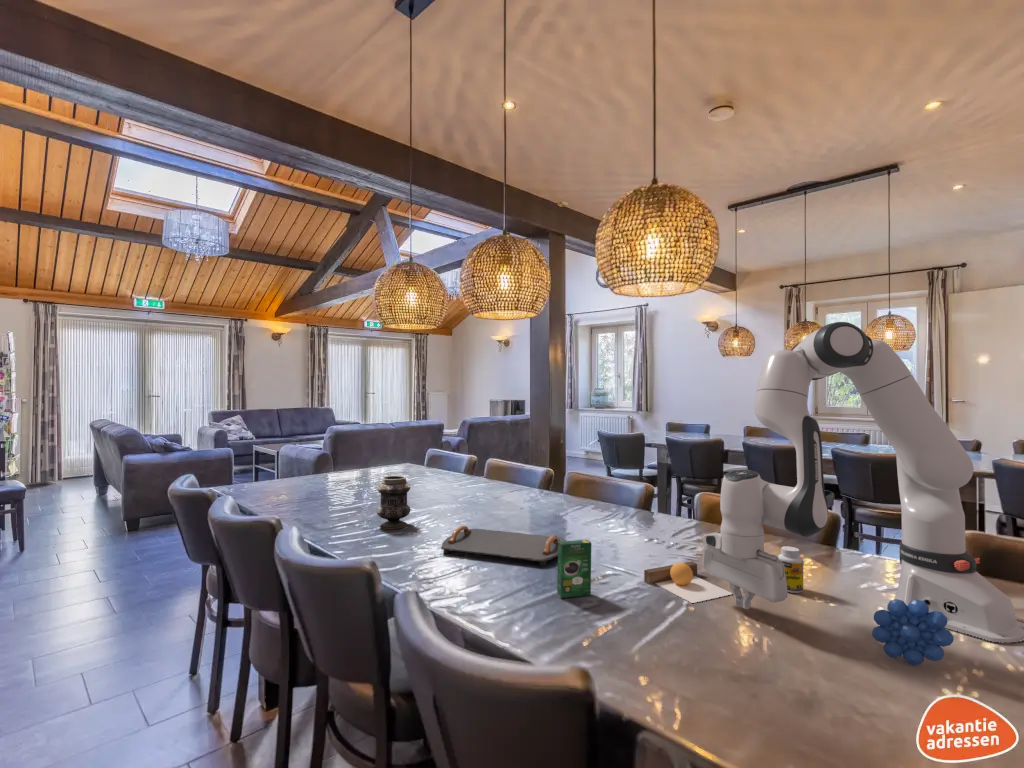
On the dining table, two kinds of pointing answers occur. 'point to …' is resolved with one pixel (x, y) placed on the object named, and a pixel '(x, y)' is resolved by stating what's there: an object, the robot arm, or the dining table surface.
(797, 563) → the supplement bottle
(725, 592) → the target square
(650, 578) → the stop rail
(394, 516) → the apothecary jar
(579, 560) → the coffee box
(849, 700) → the dining table surface
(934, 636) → the blue bumpy cluster
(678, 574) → the ball
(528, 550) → the serving board
